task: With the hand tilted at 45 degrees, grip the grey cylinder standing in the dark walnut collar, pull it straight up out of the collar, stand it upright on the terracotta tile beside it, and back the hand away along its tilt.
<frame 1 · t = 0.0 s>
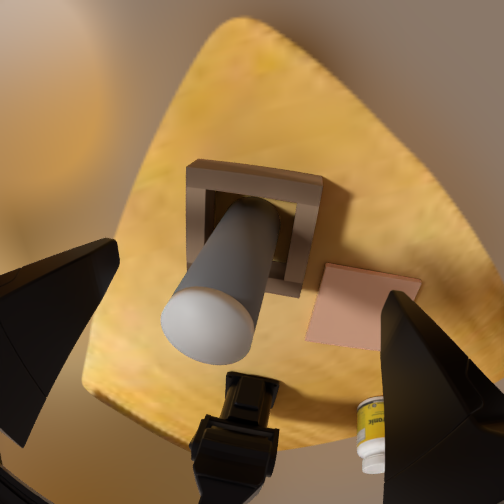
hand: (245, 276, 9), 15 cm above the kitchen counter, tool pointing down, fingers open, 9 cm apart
walnut collar: (252, 222, 25), on the kitchen counter
supplement bottle: (376, 404, 35), on the kitchen counter
grey cylinder: (234, 264, 19), in the walnut collar
terracotta tile: (360, 310, 27), on the kitchen counter
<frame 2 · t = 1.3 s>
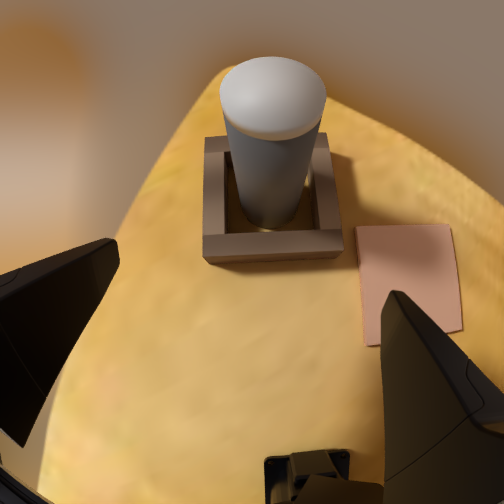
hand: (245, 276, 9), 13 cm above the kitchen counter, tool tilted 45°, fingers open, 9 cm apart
walnut collar: (269, 201, 24), on the kitchen counter
grey cylinder: (271, 160, 18), in the walnut collar
terracotta tile: (411, 281, 22), on the kitchen counter
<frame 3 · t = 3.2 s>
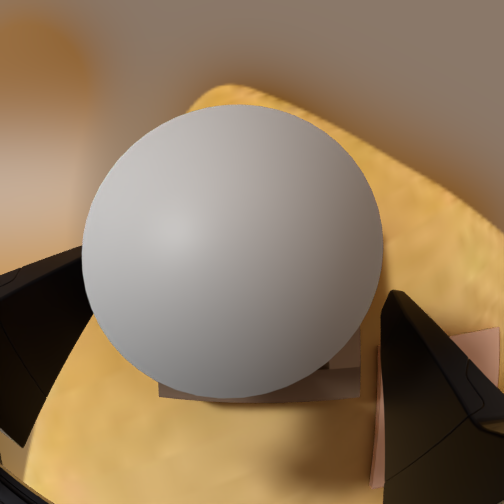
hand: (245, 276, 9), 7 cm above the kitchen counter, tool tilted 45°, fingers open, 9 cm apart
walnut collar: (259, 305, 16), on the kitchen counter
grey cylinder: (251, 290, 10), in the walnut collar
terracotta tile: (441, 407, 14), on the kitchen counter
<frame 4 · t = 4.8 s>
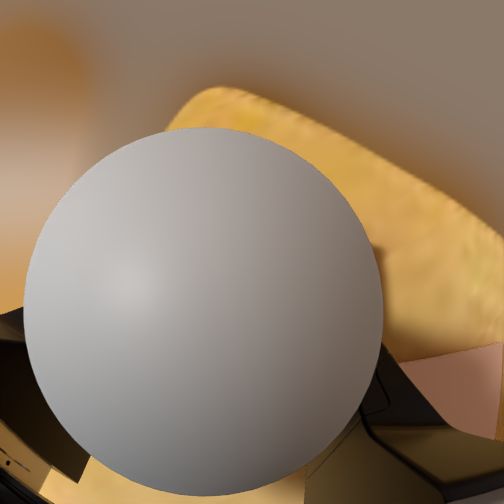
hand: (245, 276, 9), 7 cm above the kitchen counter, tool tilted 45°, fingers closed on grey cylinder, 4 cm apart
grey cylinder: (237, 322, 9), in the walnut collar, touching gripper
terracotta tile: (441, 426, 13), on the kitchen counter
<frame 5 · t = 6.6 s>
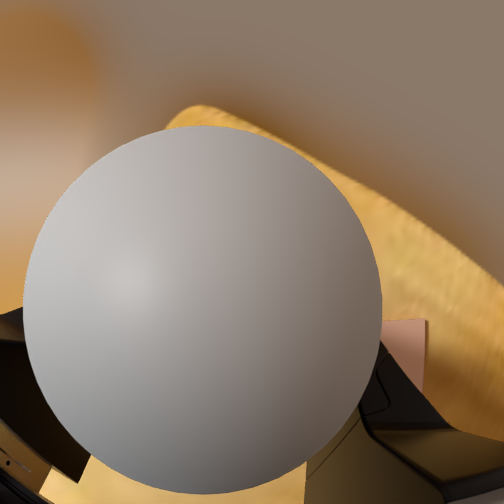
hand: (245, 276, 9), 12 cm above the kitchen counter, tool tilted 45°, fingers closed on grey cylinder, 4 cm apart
grey cylinder: (236, 321, 9), point 12 cm above the kitchen counter, touching gripper
terracotta tile: (364, 384, 19), on the kitchen counter
when the fingers open (8 cm above the kitchen counter, at t = 8.5 s): grey cylinder stays where it is, resting on terracotta tile.
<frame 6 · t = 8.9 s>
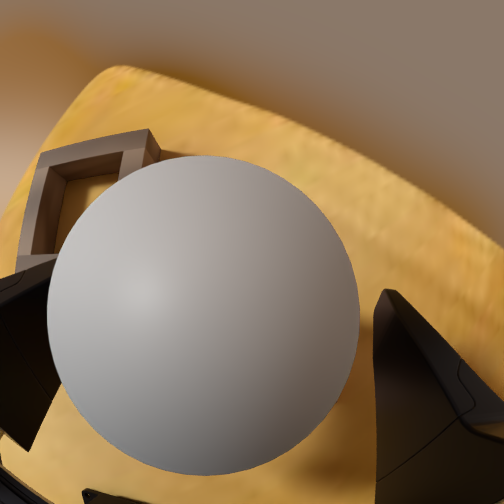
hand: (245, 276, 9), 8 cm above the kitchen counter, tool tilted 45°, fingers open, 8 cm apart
walnut collar: (92, 216, 19), on the kitchen counter
grey cylinder: (237, 324, 10), on the terracotta tile, point 7 cm above the kitchen counter
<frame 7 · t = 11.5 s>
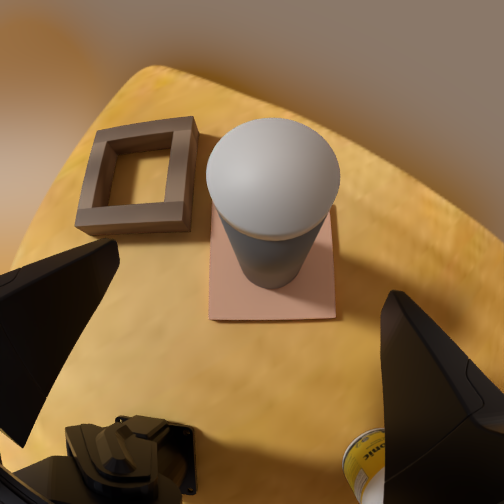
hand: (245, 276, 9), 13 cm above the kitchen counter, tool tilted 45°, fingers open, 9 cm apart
walnut collar: (142, 181, 25), on the kitchen counter
supplement bottle: (372, 454, 18), on the kitchen counter
grey cylinder: (271, 229, 16), on the terracotta tile, point 7 cm above the kitchen counter
terracotta tile: (271, 258, 23), on the kitchen counter
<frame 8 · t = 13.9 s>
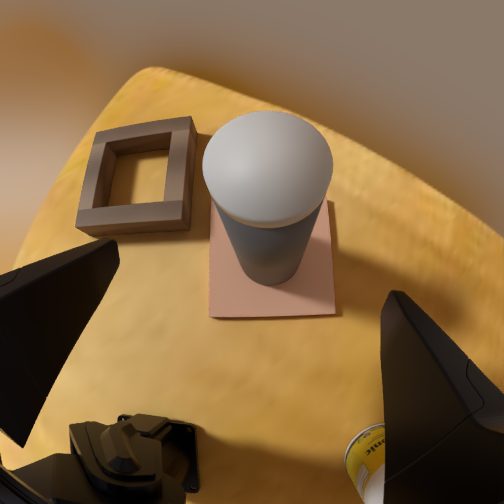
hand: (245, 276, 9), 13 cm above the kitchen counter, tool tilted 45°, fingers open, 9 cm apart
walnut collar: (142, 182, 25), on the kitchen counter
supplement bottle: (374, 450, 19), on the kitchen counter
grey cylinder: (269, 223, 16), on the terracotta tile, point 7 cm above the kitchen counter
terracotta tile: (270, 255, 23), on the kitchen counter
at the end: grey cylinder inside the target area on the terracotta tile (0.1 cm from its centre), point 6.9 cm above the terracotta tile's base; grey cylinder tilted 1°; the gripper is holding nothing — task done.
